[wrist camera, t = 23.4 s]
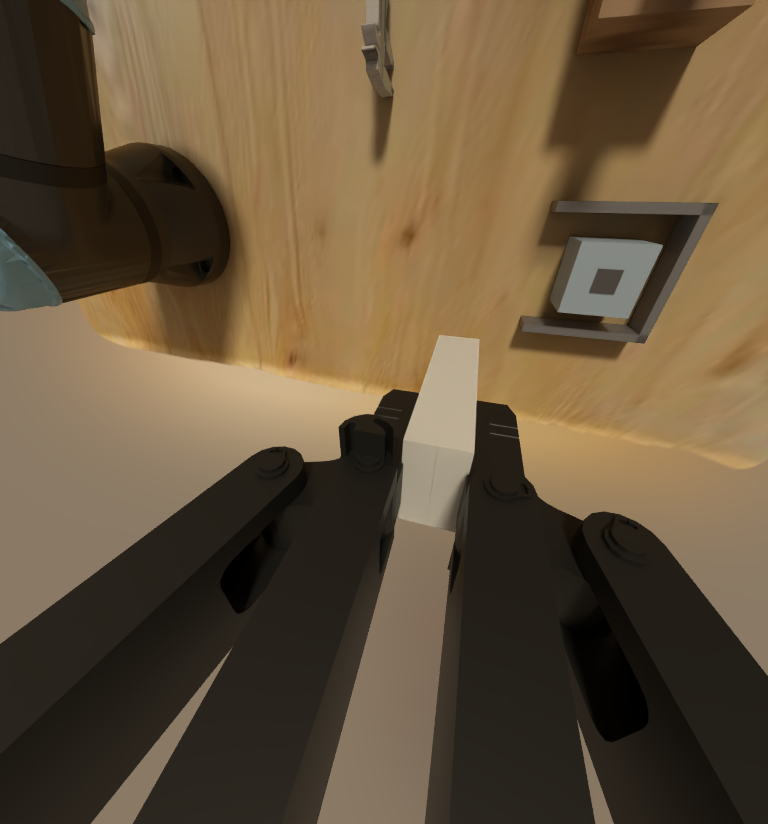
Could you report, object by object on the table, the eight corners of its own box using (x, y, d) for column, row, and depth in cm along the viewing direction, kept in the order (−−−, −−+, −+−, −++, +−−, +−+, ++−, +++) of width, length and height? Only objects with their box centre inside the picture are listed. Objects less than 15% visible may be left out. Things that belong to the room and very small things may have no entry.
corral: (519, 322, 35) (521, 331, 33) (552, 200, 29) (558, 200, 26) (632, 333, 33) (644, 343, 30) (697, 203, 26) (718, 203, 24)
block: (549, 299, 33) (557, 312, 29) (569, 236, 30) (582, 241, 26) (610, 304, 32) (628, 318, 28) (638, 239, 29) (663, 245, 25)
